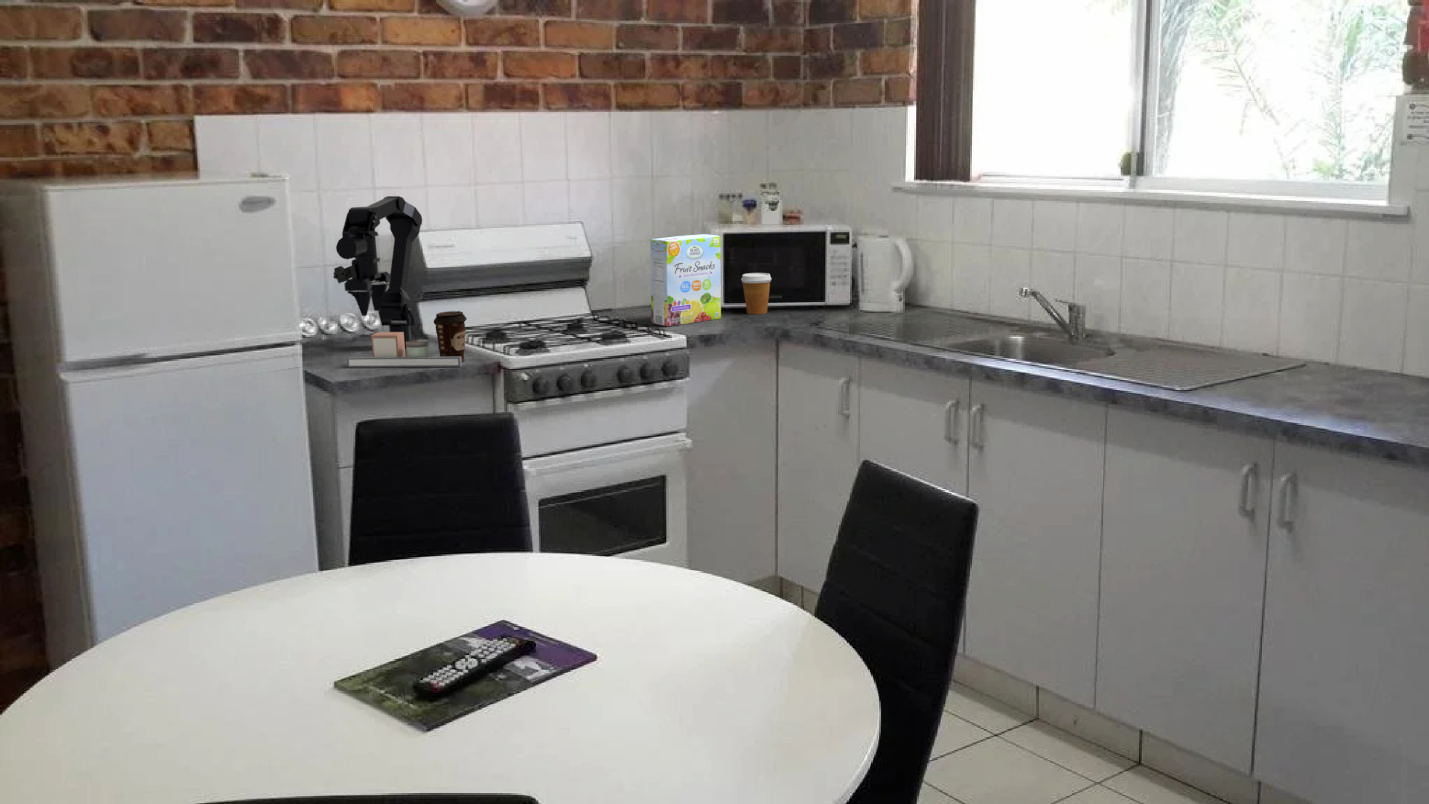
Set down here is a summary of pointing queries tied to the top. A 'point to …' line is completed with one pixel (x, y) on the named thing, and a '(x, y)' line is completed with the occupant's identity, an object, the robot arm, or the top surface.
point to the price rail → (405, 361)
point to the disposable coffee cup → (756, 292)
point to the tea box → (388, 344)
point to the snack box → (685, 279)
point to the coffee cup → (451, 333)
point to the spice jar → (417, 348)
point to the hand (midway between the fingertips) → (370, 313)
